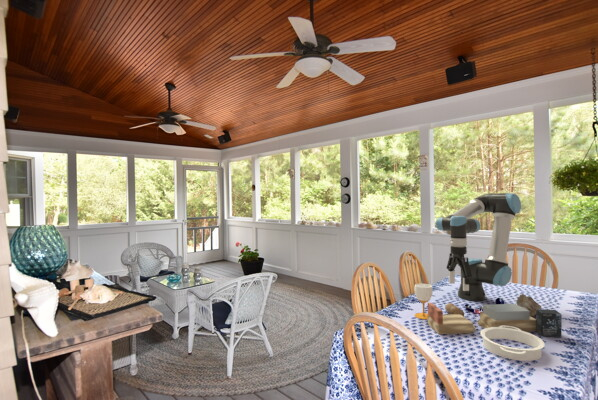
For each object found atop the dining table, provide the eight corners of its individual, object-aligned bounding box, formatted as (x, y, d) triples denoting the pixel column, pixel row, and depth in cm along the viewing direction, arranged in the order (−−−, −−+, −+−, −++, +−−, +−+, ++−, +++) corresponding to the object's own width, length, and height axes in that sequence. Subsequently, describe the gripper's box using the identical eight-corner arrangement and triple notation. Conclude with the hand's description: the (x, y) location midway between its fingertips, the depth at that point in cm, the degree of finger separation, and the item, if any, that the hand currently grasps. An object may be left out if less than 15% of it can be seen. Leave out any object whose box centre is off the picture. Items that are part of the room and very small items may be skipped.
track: (427, 323, 166) (427, 302, 166) (519, 321, 168) (519, 300, 168) (438, 334, 154) (438, 311, 154) (537, 331, 156) (537, 308, 156)
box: (541, 336, 150) (541, 312, 150) (535, 331, 155) (535, 308, 155) (562, 338, 148) (562, 313, 148) (555, 332, 154) (555, 309, 153)
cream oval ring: (550, 372, 121) (550, 359, 121) (479, 358, 132) (479, 346, 132) (540, 341, 146) (540, 330, 146) (481, 331, 157) (481, 321, 157)
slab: (483, 312, 166) (483, 304, 166) (515, 311, 167) (515, 303, 166) (495, 320, 156) (495, 311, 156) (529, 319, 157) (529, 310, 156)
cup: (432, 314, 179) (432, 284, 179) (433, 320, 171) (433, 288, 170) (414, 312, 182) (414, 282, 182) (414, 318, 174) (414, 287, 173)
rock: (530, 323, 171) (545, 310, 168) (509, 305, 177) (524, 292, 174) (530, 320, 179) (545, 307, 176) (510, 302, 184) (524, 290, 181)
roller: (447, 313, 182) (444, 305, 182) (455, 310, 182) (452, 301, 182) (456, 320, 172) (453, 311, 172) (465, 317, 172) (462, 308, 172)
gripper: (439, 242, 188) (440, 280, 188) (464, 250, 163) (464, 294, 163) (453, 242, 188) (453, 280, 189) (479, 249, 163) (480, 293, 164)
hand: (458, 286), depth 176 cm, fingers open, 13 cm apart
